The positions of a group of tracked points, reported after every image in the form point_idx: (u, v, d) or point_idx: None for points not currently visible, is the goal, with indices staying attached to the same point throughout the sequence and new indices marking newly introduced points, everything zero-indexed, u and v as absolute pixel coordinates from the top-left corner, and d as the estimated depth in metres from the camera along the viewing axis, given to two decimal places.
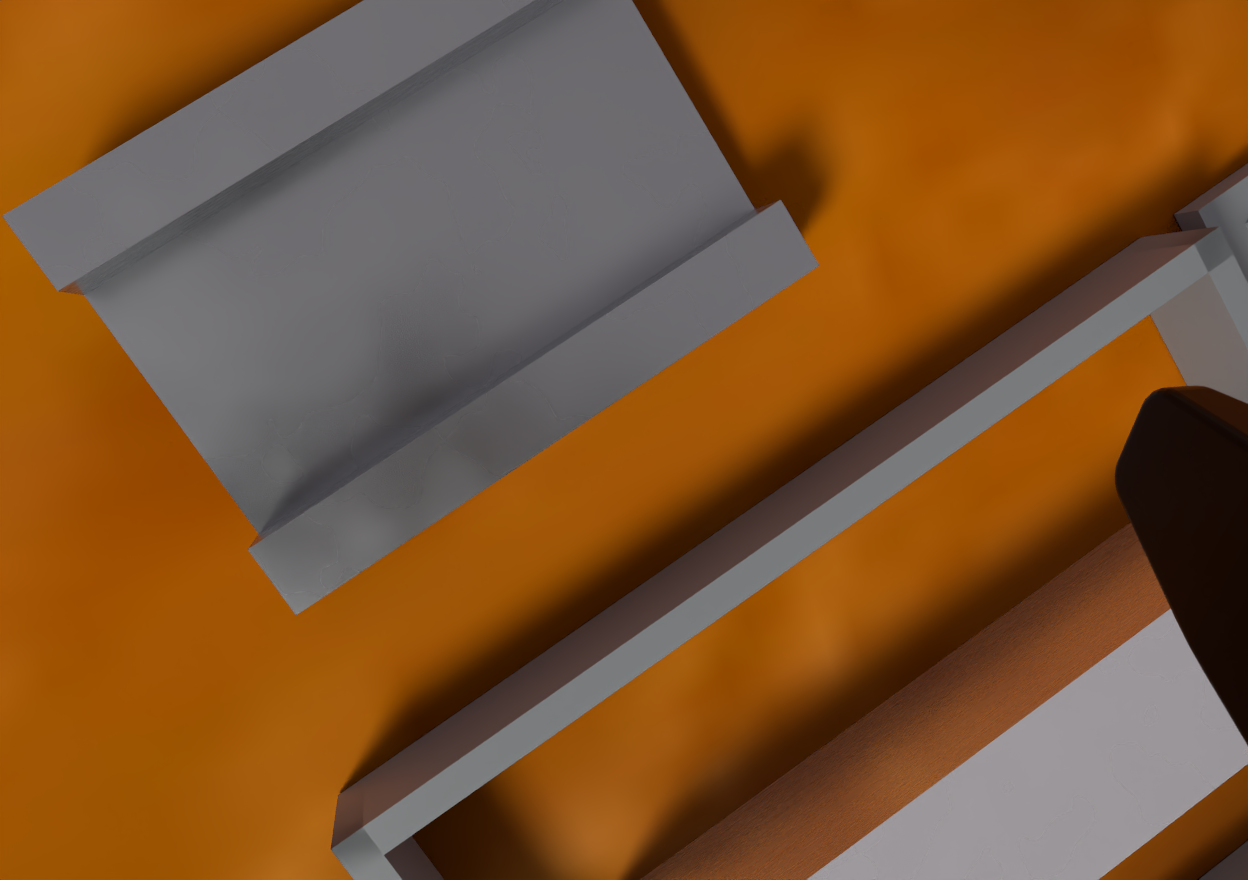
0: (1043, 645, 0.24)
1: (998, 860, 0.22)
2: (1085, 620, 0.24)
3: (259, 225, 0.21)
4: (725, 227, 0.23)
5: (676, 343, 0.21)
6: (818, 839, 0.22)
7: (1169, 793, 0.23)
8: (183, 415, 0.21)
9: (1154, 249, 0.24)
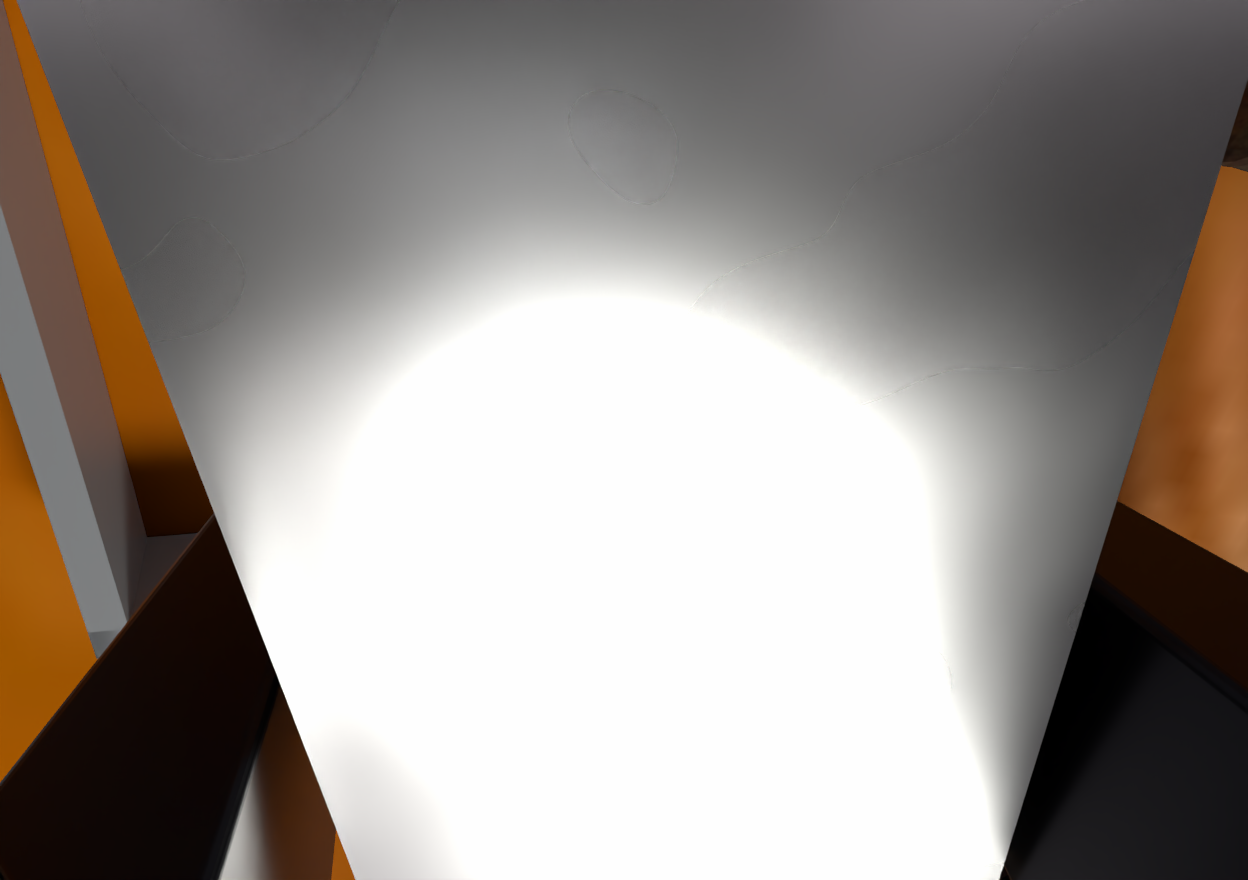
0: None
1: (753, 828, 0.06)
2: None
3: None
4: None
5: None
6: None
7: (1075, 205, 0.04)
8: None
9: None
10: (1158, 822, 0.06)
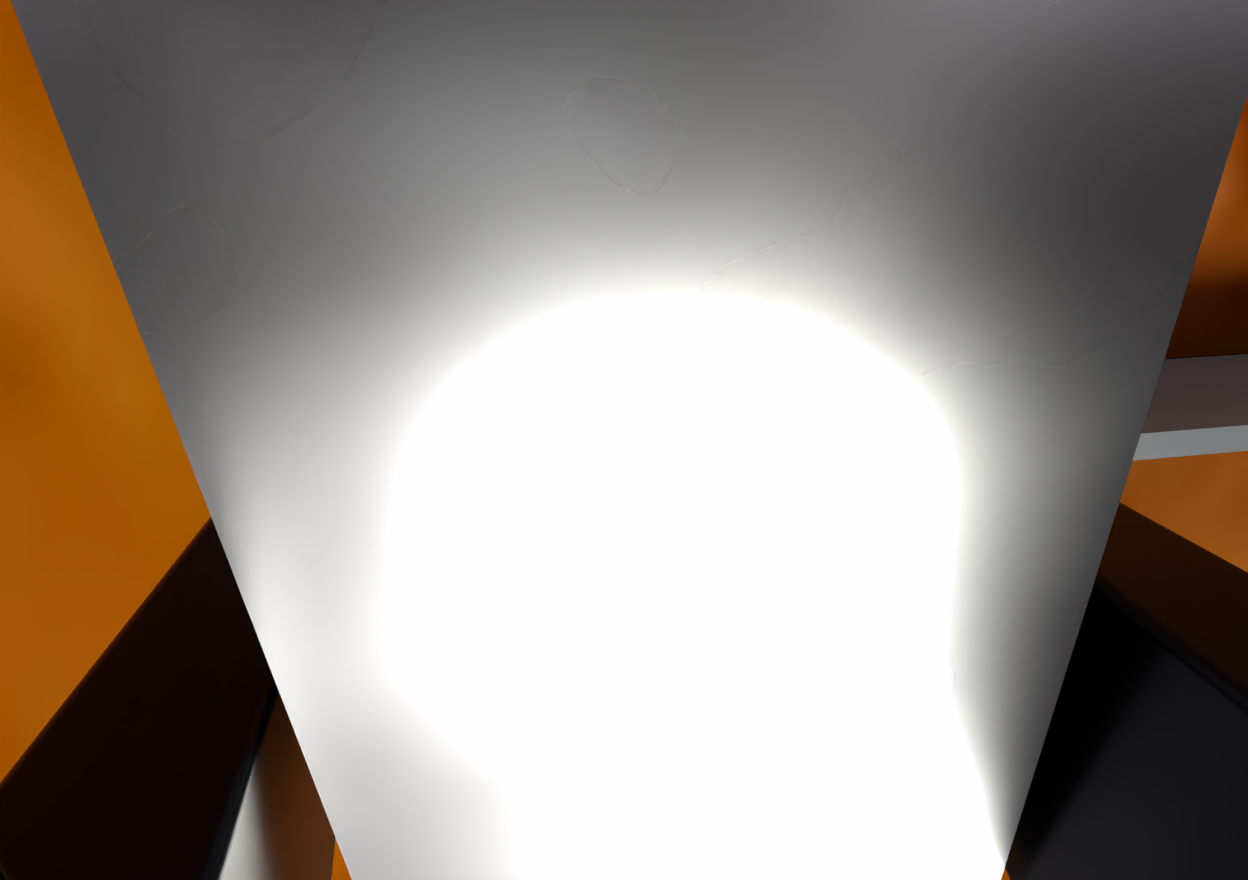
0: None
1: (753, 829, 0.06)
2: None
3: None
4: None
5: None
6: None
7: (1080, 196, 0.04)
8: None
9: None
10: (1159, 821, 0.06)
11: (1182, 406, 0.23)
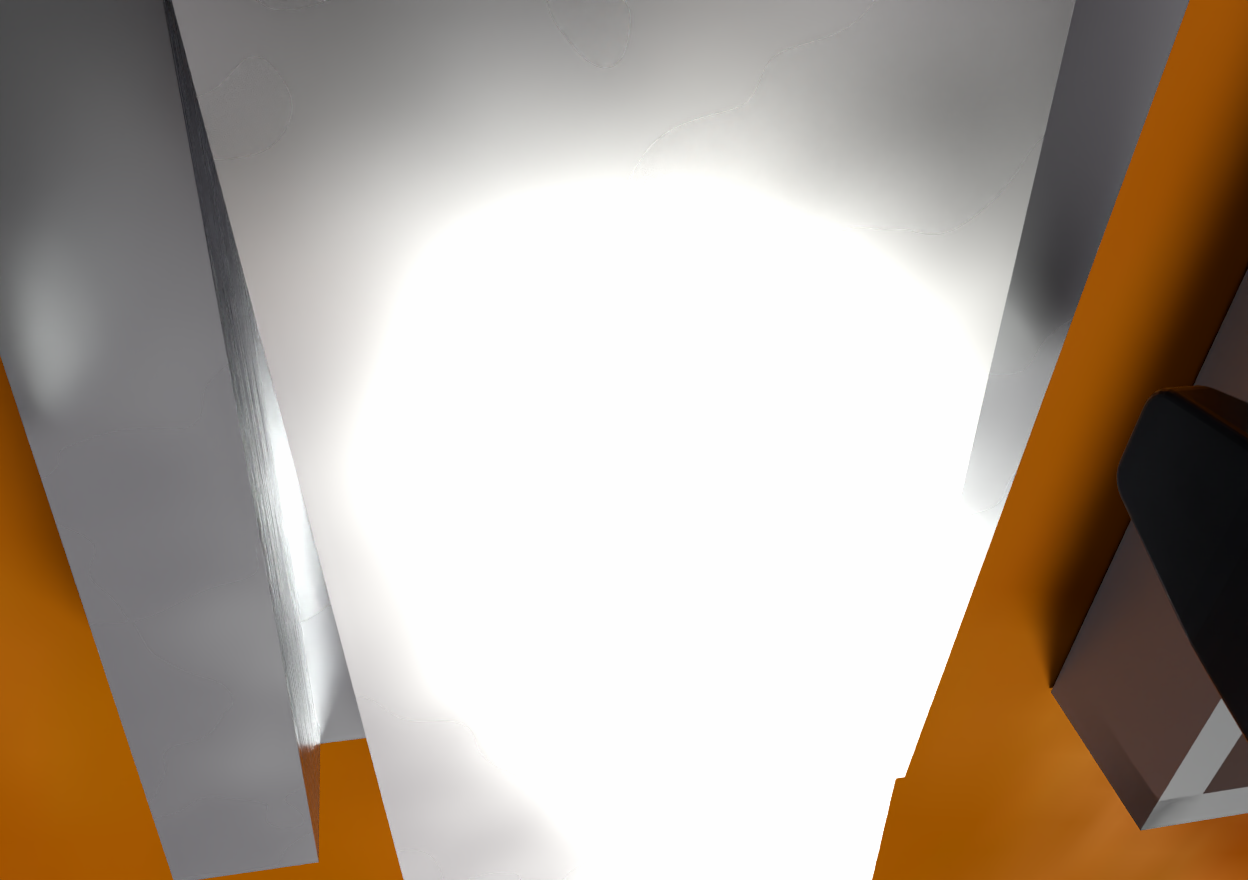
0: None
1: (692, 656, 0.07)
2: None
3: None
4: None
5: (1130, 69, 0.08)
6: None
7: (945, 90, 0.05)
8: None
9: None
10: None
11: None
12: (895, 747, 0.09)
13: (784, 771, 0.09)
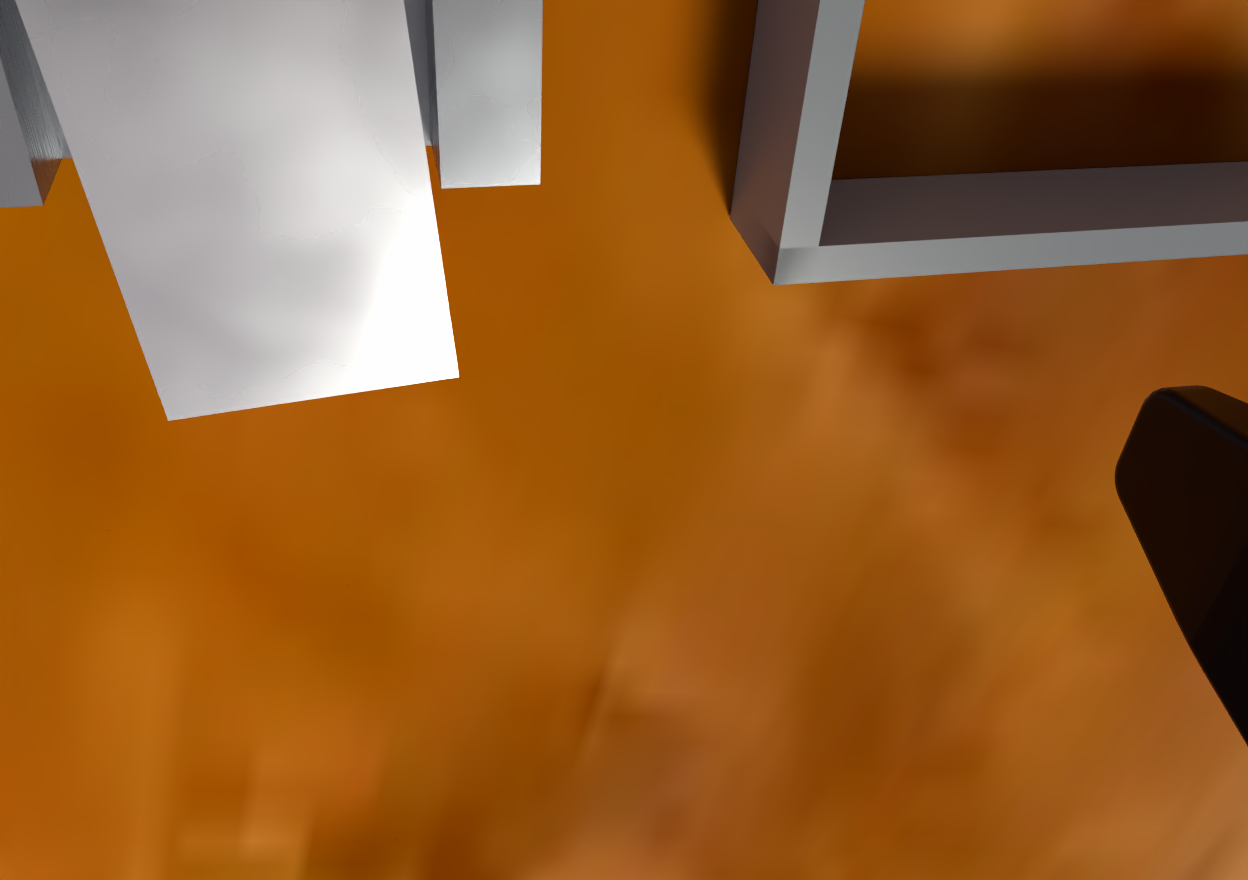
0: None
1: None
2: None
3: None
4: None
5: None
6: None
7: None
8: None
9: None
10: None
11: (1087, 209, 0.20)
12: None
13: None
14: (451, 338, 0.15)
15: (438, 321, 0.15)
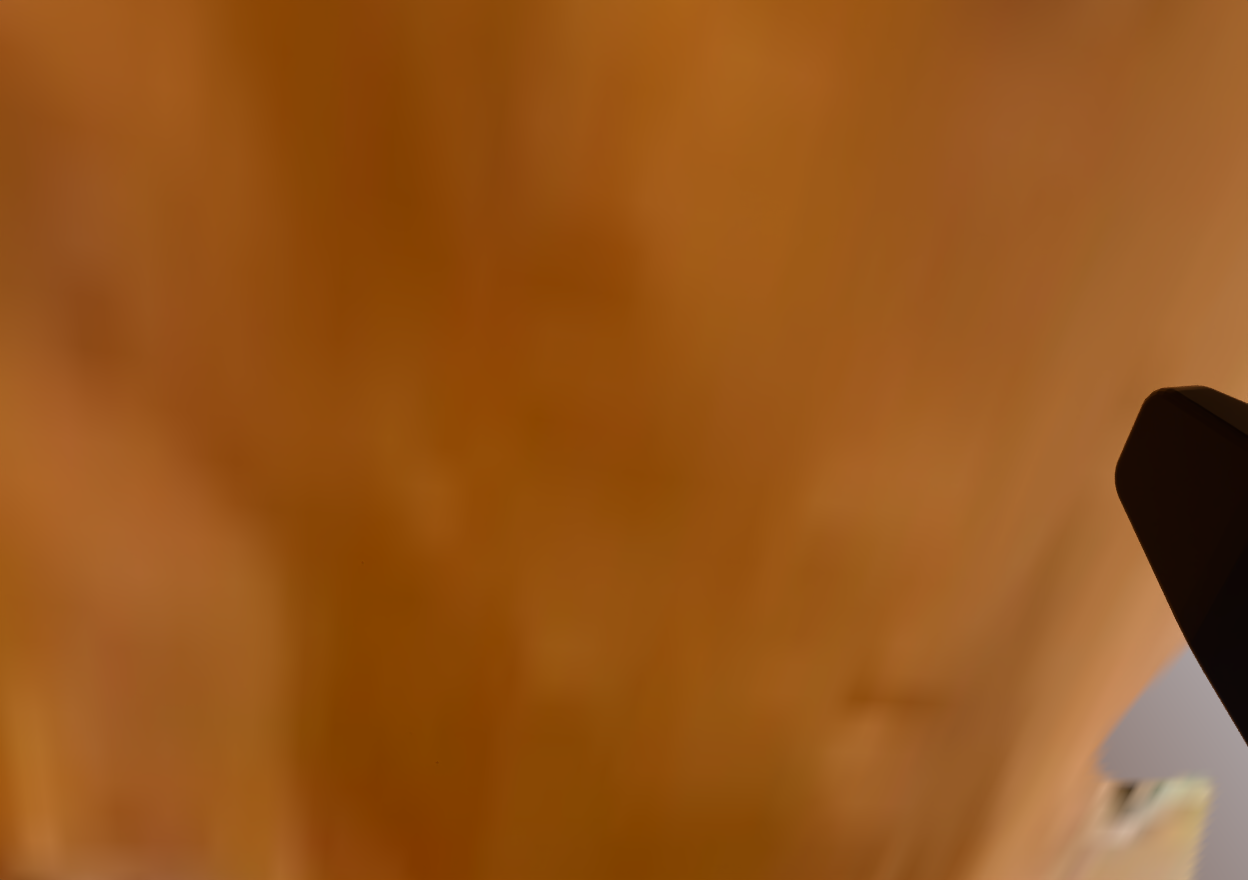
0: None
1: None
2: None
3: None
4: None
5: None
6: None
7: None
8: None
9: None
10: None
11: None
12: None
13: None
14: None
15: None
